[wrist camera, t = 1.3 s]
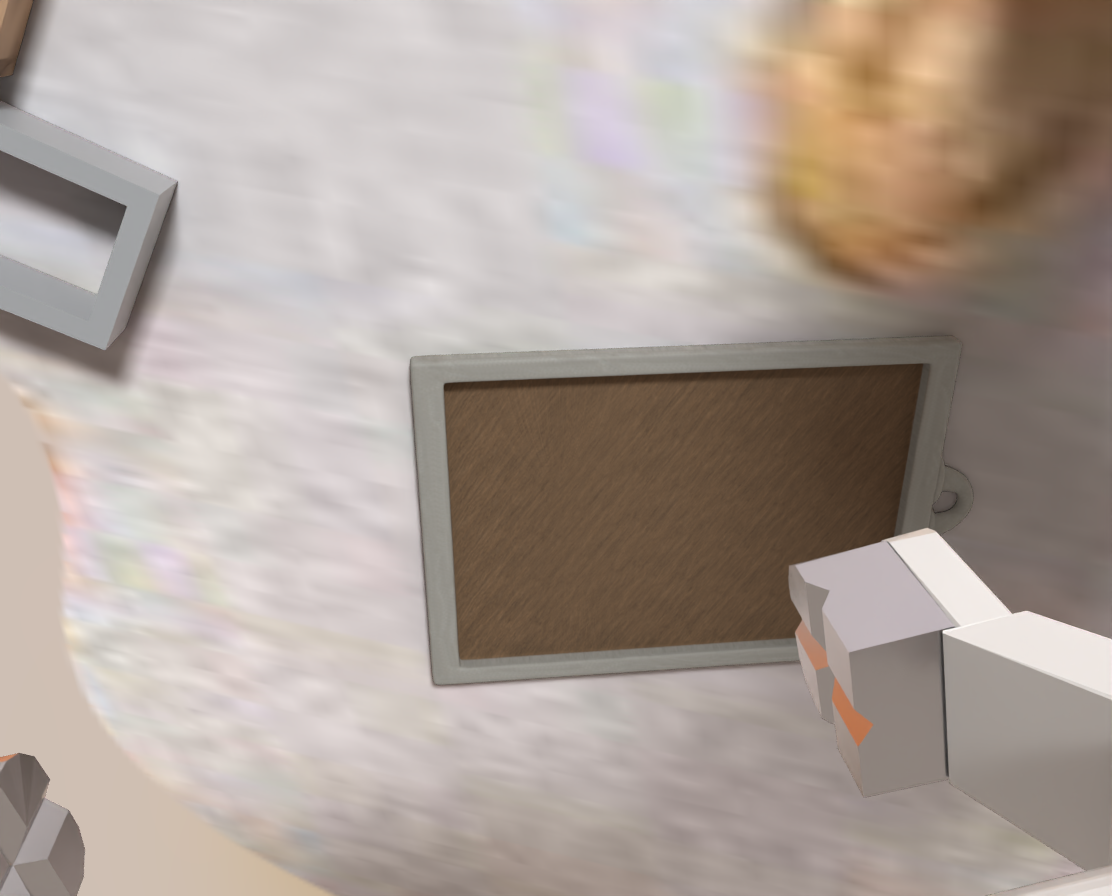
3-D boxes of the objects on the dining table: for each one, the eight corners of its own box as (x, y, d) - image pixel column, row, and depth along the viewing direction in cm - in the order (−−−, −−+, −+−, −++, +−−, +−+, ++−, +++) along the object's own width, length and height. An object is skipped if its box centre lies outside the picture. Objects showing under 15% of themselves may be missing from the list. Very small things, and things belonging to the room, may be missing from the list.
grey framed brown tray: (408, 363, 46) (1015, 340, 49) (409, 352, 47) (999, 329, 50) (432, 687, 54) (949, 651, 57) (432, 668, 56) (937, 635, 58)
